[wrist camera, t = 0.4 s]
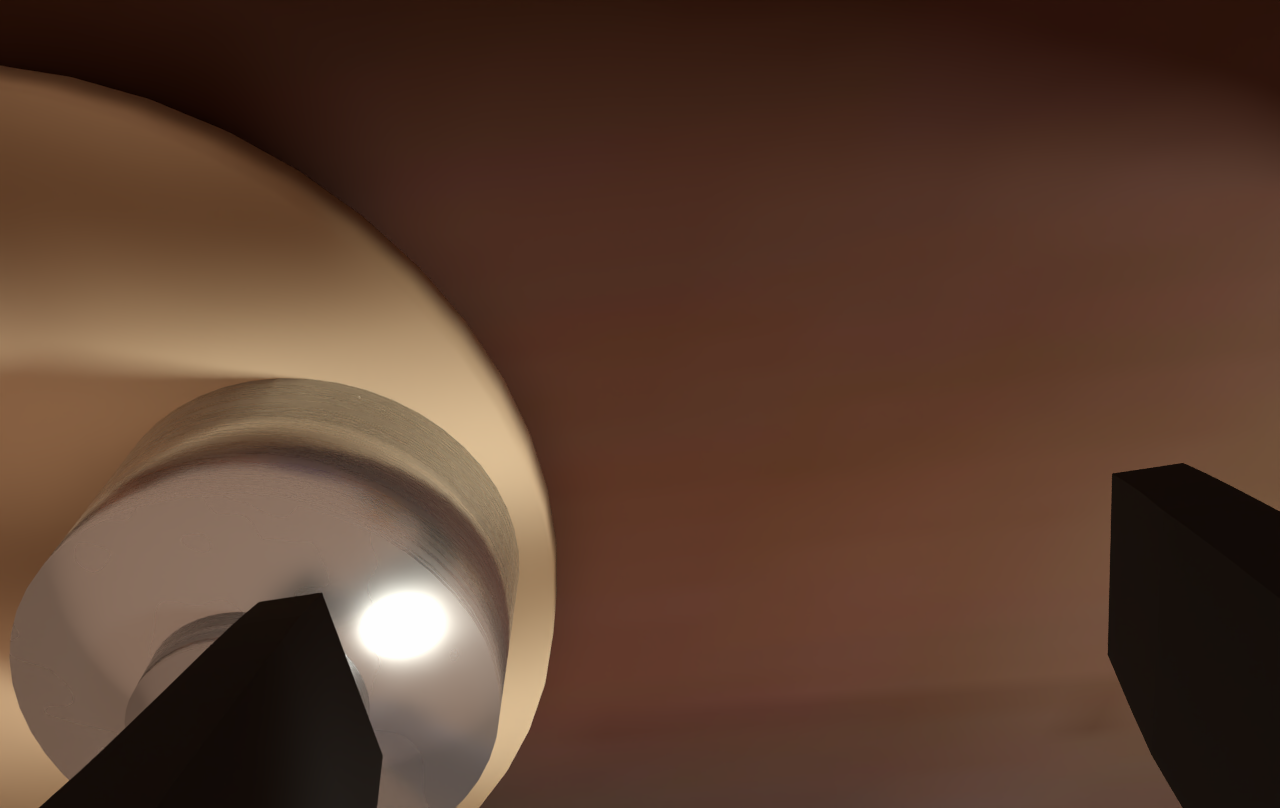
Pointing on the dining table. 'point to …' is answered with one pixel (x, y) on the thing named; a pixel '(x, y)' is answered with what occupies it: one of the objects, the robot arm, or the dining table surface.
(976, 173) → the dining table surface
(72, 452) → the disc
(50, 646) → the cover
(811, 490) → the dining table surface
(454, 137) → the dining table surface
